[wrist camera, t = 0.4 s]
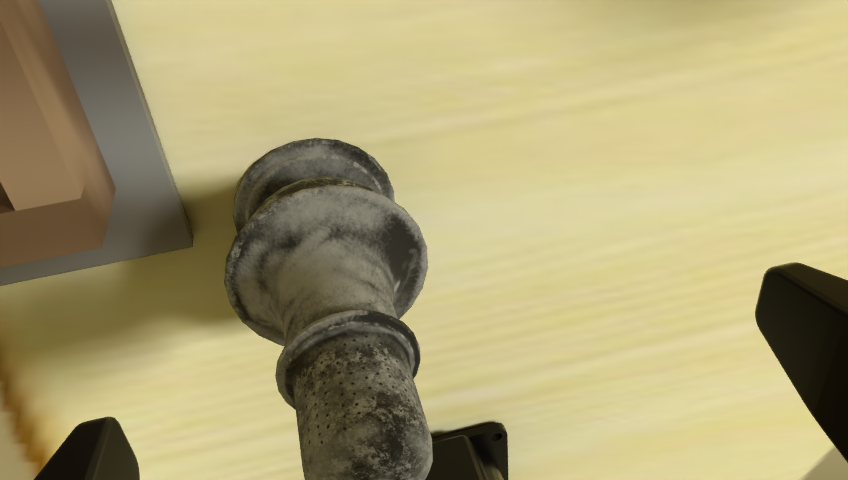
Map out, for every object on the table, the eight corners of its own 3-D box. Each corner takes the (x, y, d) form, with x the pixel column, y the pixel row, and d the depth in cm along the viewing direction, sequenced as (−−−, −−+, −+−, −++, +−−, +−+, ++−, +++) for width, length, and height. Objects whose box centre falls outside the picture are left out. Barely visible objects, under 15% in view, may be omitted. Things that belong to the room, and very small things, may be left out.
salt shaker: (191, 245, 23) (172, 607, 13) (279, 97, 20) (332, 399, 11) (346, 302, 25) (422, 632, 16) (436, 177, 23) (587, 472, 14)
